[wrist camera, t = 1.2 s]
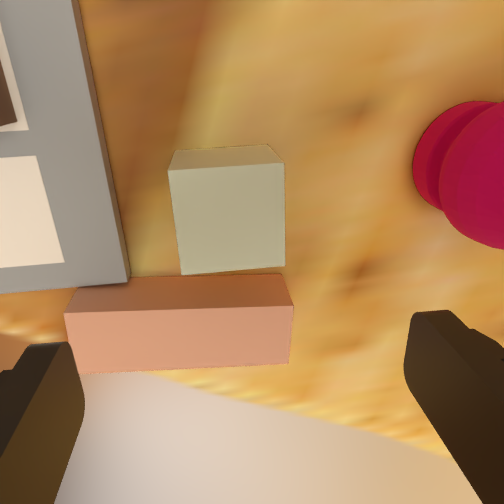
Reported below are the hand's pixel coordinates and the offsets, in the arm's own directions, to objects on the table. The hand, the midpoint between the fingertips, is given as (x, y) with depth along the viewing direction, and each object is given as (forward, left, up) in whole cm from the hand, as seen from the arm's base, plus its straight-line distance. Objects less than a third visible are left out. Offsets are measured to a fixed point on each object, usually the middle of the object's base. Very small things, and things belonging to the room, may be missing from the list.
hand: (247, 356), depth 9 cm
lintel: (+3, +7, -15) cm, 17 cm away
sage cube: (0, 0, -14) cm, 14 cm away
